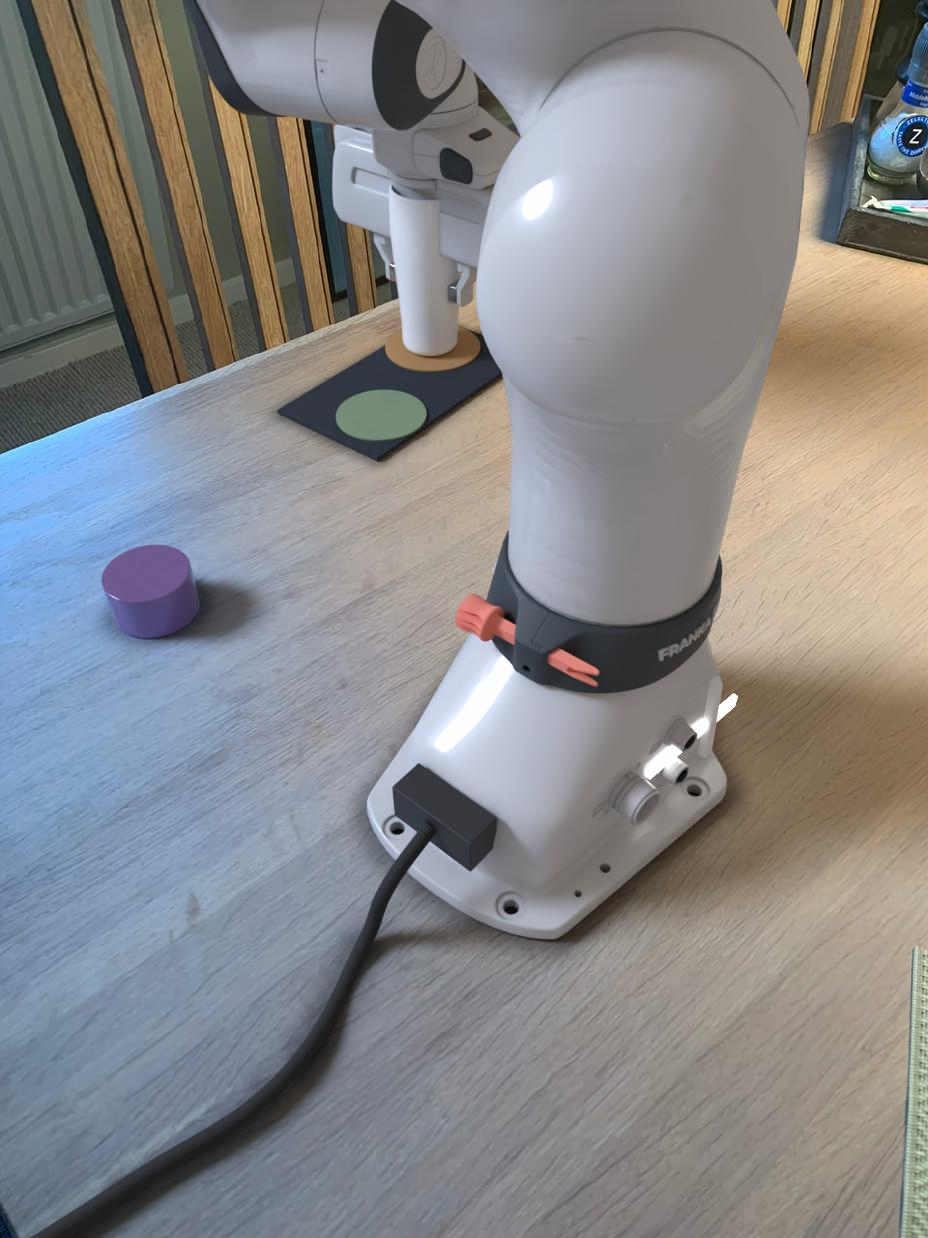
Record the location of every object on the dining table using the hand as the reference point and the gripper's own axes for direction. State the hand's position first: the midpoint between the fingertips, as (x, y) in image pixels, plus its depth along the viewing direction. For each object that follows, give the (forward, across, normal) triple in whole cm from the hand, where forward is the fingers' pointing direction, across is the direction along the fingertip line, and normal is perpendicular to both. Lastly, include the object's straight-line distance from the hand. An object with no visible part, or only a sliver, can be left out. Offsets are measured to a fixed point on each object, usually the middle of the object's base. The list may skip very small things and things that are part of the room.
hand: (429, 290), depth 92 cm
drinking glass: (+6, 0, 0) cm, 6 cm away
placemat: (+6, +2, -6) cm, 9 cm away
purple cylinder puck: (+6, +8, -40) cm, 41 cm away
